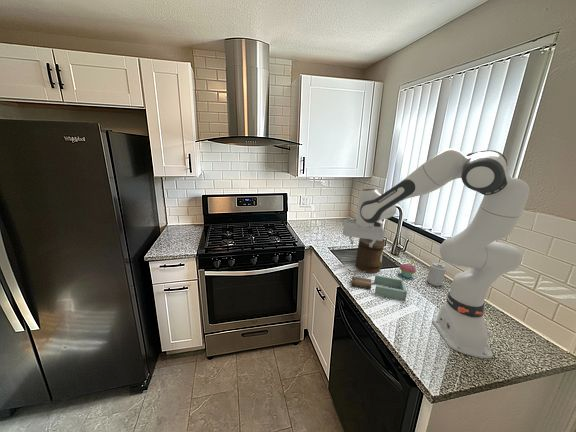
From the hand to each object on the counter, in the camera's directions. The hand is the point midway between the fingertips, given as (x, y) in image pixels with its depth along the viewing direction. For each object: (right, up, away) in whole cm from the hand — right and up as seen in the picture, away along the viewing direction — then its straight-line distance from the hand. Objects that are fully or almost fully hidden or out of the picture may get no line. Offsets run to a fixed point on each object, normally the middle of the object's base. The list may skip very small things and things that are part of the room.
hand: (361, 245), depth 123 cm
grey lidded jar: (+45, -23, +11) cm, 51 cm away
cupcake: (+32, -20, +17) cm, 42 cm away
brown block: (+1, -22, +5) cm, 23 cm away
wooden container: (+12, -17, +25) cm, 33 cm away
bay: (+14, -24, +1) cm, 28 cm away
